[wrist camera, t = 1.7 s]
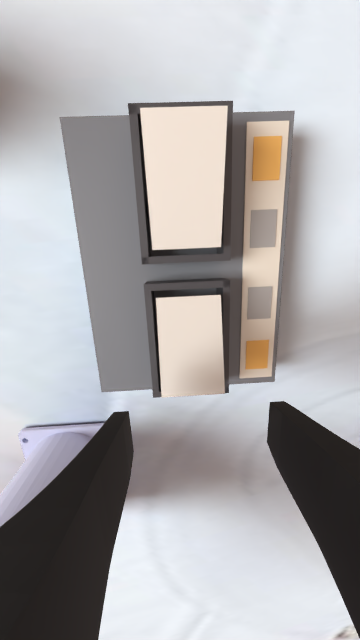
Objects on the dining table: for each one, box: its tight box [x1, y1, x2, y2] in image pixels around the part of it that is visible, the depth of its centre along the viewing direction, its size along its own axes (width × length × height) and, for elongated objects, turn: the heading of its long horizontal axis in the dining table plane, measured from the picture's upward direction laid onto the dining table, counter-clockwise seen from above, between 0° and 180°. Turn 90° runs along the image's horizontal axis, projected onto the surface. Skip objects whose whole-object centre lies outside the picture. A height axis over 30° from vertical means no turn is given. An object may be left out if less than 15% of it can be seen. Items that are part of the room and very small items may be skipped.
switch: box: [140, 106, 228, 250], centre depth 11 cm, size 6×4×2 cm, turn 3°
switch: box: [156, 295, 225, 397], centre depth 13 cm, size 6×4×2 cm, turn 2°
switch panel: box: [60, 101, 294, 398], centre depth 15 cm, size 17×13×4 cm
